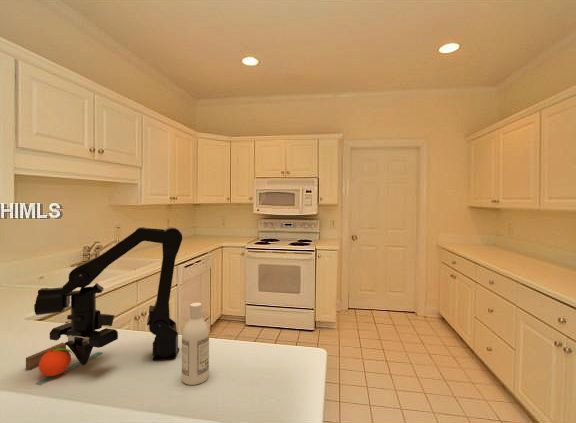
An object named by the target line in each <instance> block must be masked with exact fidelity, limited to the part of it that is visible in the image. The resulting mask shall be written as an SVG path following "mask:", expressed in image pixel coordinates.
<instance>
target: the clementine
mask: <svg viewBox="0 0 576 423" xmlns="http://www.w3.org/2000/svg"><path fill="white" fill-rule="evenodd" d="M72 356H74V353H73V352H72V351H71V349H68V348H67V347H66V348H54V349H51V350H49V351H48V352H47V353H45V354H44V355H43V356H42V358H41V360H40V362H39V367H38V370H39V372H40V373H41V374H42V375H43V376H47V377H49V376H56V375H58V374H61V373H62V372H64V371H65V370H66V369H67V367H69V366H70V364H71V361H72Z"/></svg>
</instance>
